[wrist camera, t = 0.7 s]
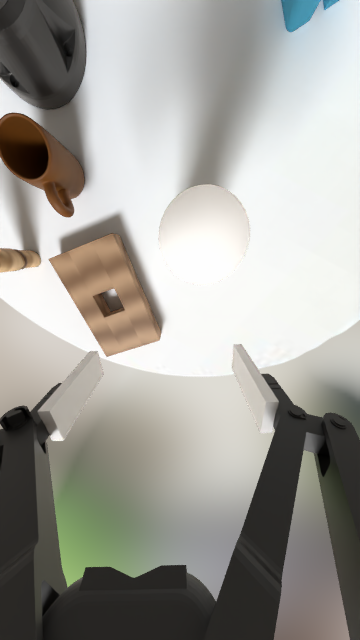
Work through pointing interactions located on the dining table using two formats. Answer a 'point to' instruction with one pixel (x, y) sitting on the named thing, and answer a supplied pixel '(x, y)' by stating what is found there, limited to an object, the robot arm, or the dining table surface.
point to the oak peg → (17, 259)
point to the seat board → (102, 275)
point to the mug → (40, 161)
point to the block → (301, 11)
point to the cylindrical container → (204, 234)
